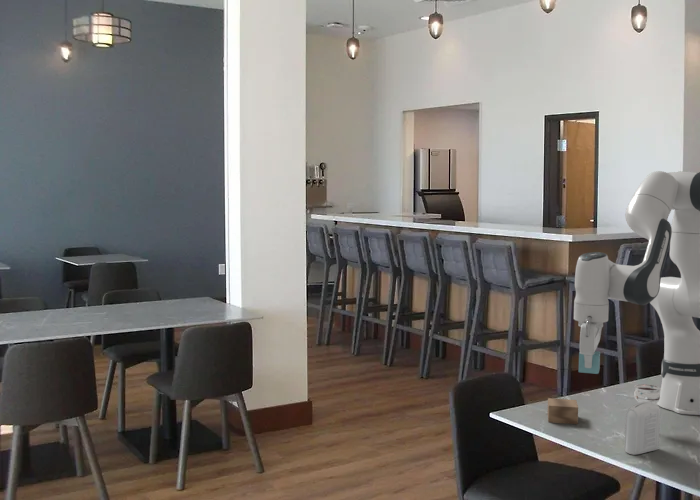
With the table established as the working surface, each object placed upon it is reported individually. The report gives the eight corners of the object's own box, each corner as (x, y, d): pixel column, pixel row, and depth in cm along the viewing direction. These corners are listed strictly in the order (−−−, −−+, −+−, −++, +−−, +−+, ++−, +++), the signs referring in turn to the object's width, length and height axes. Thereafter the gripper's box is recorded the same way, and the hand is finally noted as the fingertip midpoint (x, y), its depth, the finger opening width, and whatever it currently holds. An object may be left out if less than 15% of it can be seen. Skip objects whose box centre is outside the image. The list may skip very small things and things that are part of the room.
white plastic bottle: (647, 444, 205) (649, 397, 204) (661, 449, 202) (663, 401, 201) (621, 452, 200) (623, 403, 199) (636, 456, 196) (637, 407, 195)
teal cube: (599, 369, 213) (600, 351, 213) (598, 373, 209) (598, 355, 208) (580, 368, 215) (580, 349, 215) (578, 372, 211) (579, 353, 210)
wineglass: (627, 427, 219) (628, 385, 218) (646, 425, 222) (648, 383, 221) (644, 435, 213) (645, 391, 212) (664, 432, 215) (666, 389, 214)
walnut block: (575, 416, 230) (576, 400, 230) (577, 425, 223) (578, 407, 222) (547, 414, 232) (547, 398, 232) (548, 422, 224) (548, 405, 224)
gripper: (600, 320, 200) (598, 374, 201) (606, 309, 219) (604, 358, 220) (574, 319, 202) (573, 372, 203) (582, 307, 221) (580, 356, 222)
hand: (589, 365), depth 212 cm, fingers closed on teal cube, 5 cm apart
